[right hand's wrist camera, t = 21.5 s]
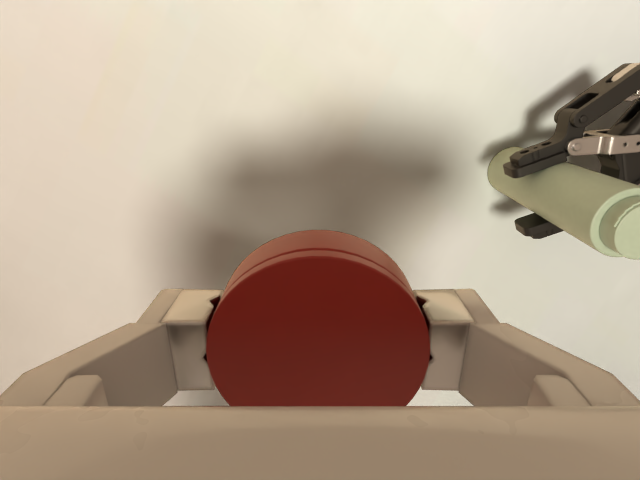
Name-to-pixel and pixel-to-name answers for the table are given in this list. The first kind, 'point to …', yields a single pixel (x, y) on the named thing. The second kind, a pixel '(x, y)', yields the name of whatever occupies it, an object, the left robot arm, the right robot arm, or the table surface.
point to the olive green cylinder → (577, 203)
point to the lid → (318, 326)
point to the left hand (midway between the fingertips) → (515, 201)
